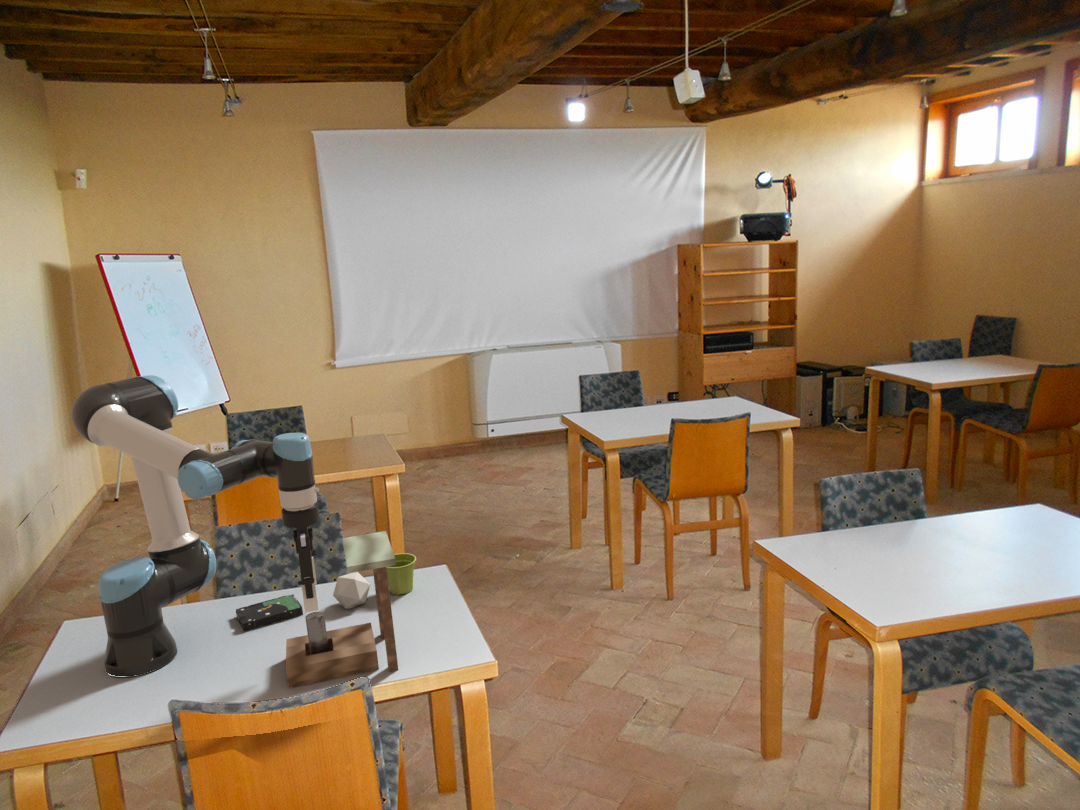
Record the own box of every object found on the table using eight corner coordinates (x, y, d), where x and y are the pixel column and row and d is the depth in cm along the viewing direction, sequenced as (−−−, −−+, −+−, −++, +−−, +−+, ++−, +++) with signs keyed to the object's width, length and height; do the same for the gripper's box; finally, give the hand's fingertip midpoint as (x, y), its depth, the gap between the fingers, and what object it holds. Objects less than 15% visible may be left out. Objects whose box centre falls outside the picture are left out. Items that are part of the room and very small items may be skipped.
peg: (311, 667, 172) (305, 621, 170) (311, 658, 176) (305, 613, 174) (330, 663, 173) (324, 617, 171) (329, 655, 177) (323, 610, 175)
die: (364, 595, 211) (337, 570, 208) (382, 586, 205) (355, 560, 203) (347, 619, 204) (320, 593, 202) (366, 610, 199) (338, 584, 196)
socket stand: (288, 693, 164) (271, 580, 159) (289, 653, 181) (274, 549, 176) (407, 667, 171) (395, 558, 166) (397, 631, 188) (385, 530, 183)
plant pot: (426, 585, 213) (422, 555, 211) (406, 600, 205) (402, 569, 203) (397, 581, 217) (394, 551, 215) (377, 595, 209) (373, 565, 207)
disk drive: (244, 634, 193) (304, 616, 200) (242, 624, 193) (302, 605, 200) (236, 619, 202) (294, 601, 209) (234, 609, 201) (292, 592, 209)
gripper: (319, 521, 156) (331, 619, 161) (316, 486, 180) (326, 572, 184) (280, 527, 154) (293, 626, 159) (282, 491, 178) (293, 577, 182)
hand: (311, 597), depth 172 cm, fingers open, 13 cm apart
